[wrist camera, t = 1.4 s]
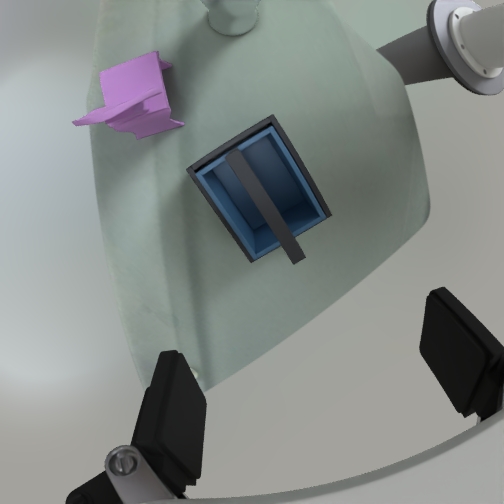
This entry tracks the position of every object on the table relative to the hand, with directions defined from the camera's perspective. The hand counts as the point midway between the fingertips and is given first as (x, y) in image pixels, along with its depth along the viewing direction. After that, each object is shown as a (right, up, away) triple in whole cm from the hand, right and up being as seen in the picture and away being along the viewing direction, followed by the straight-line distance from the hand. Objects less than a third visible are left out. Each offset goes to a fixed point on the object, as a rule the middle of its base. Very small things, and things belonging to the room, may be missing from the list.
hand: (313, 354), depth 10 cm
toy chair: (-14, +22, +21) cm, 34 cm away
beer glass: (-4, +32, +17) cm, 37 cm away
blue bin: (-1, +12, +25) cm, 28 cm away
